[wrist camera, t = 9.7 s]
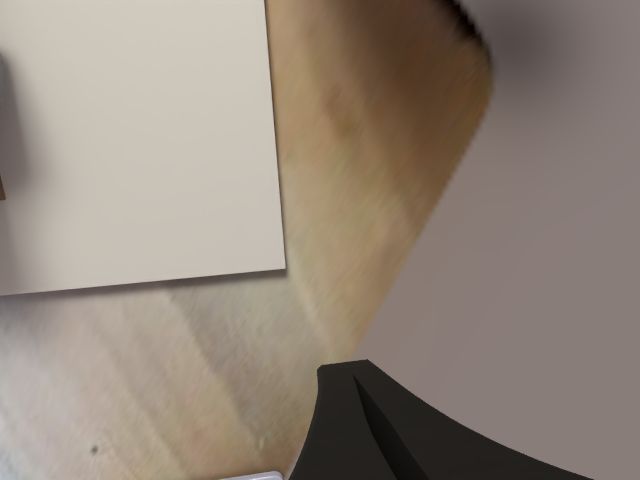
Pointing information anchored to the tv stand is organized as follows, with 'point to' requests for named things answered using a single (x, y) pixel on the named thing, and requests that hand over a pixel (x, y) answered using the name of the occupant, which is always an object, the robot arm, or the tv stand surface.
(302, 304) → the tv stand surface
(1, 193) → the block
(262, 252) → the board
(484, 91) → the tv stand surface
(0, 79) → the pin
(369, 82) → the tv stand surface
